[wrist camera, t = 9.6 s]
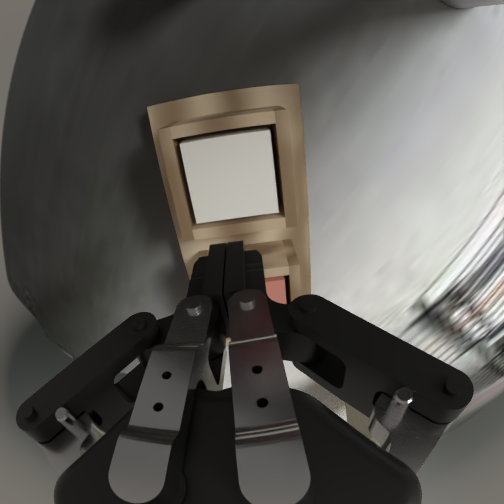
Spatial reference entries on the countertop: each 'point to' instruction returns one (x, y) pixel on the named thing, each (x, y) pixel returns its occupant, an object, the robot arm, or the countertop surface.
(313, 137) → the countertop surface
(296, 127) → the frame
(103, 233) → the countertop surface
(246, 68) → the countertop surface
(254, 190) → the white key
